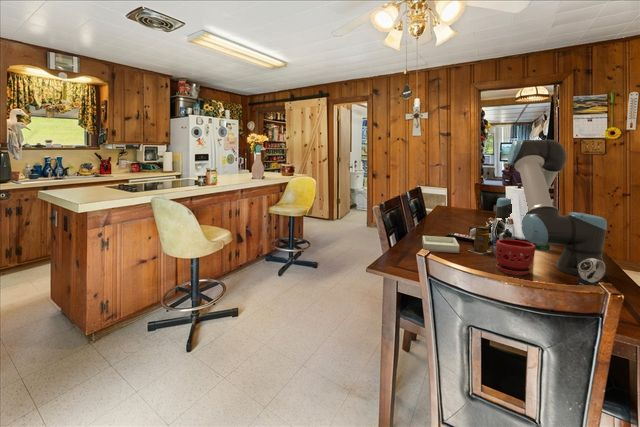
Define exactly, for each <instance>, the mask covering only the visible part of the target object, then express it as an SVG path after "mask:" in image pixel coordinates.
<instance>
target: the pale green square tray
mask: <svg viewBox="0 0 640 427" xmlns="http://www.w3.org/2000/svg"><path fill="white" fill-rule="evenodd" d="M421 240H422V241H421V243H422V249H427V250H430V251H429V252H439V253H451V254H460V244H459V243H458V241H457V239H456V238H455V237H452V236H451V237H447V236H435V235H434V236H433V235H432V236H431V235H422V239H421Z"/></svg>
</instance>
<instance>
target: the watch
mask: <svg viewBox="0 0 640 427" xmlns="http://www.w3.org/2000/svg"><path fill="white" fill-rule="evenodd" d="M596 261H597V262H598V264H599V267H598V269H597V270H596V269H595V268H596V264H597V262H596ZM578 270H579V275H580V276H579V278H577V281H576V286H577V285H594V286H597V284H598V283H599V282H600V280H601V279H602V278H603V277H602V276H603V275H604V273H605V274H606V263H605V262H604V260H603V261H600V260H597V259H594V258H589V259H586V260H583V261H581V262H580V263H579V265H578ZM593 271H596V272H595V273H594V275H593V277H592V278H589V277H587V276H589V274H590V273H592V272H593Z"/></svg>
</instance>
